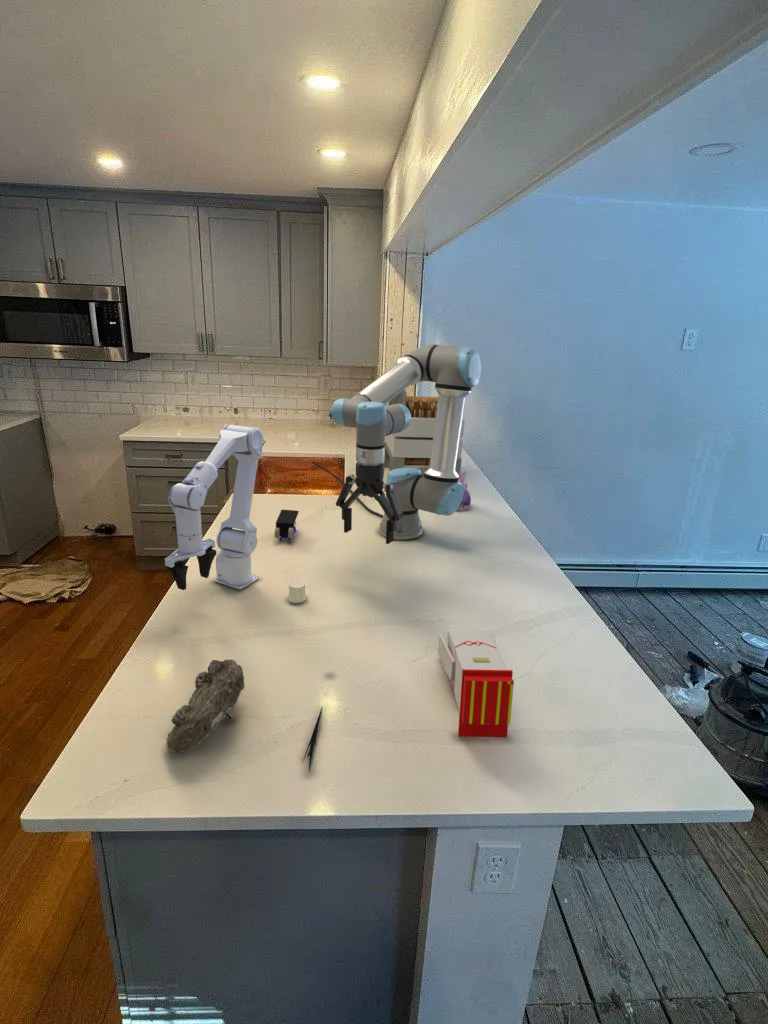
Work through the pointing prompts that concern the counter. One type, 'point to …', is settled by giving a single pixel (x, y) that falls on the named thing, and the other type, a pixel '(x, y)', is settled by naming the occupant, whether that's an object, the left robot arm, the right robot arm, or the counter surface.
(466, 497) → the figurine
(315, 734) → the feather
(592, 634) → the counter surface
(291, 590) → the can
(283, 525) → the black wheeled cart
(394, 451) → the white slatted crate
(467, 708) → the toy
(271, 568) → the counter surface
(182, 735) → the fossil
